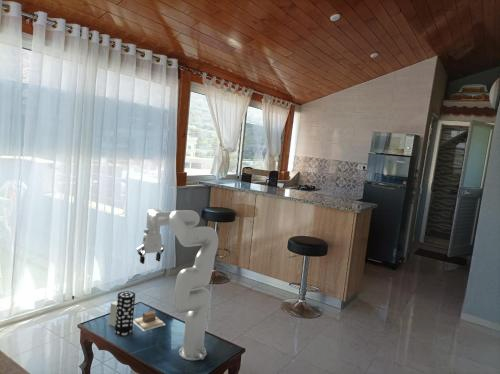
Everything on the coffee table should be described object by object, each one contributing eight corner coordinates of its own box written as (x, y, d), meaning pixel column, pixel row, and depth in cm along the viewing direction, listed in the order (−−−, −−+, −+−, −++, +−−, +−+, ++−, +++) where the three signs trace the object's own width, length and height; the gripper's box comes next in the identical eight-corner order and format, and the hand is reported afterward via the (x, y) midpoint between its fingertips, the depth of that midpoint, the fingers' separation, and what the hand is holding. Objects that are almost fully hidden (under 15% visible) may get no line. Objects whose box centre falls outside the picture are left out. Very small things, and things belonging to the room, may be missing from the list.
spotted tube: (122, 327, 185) (125, 290, 183) (135, 331, 182) (138, 293, 180) (110, 334, 177) (113, 295, 175) (124, 339, 174) (128, 299, 172)
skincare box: (118, 321, 191) (119, 299, 190) (124, 323, 189) (126, 301, 188) (108, 325, 185) (110, 302, 184) (114, 328, 183) (116, 305, 182)
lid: (163, 324, 191) (164, 314, 191) (144, 329, 183) (145, 319, 183) (152, 316, 199) (153, 306, 198) (134, 321, 191) (135, 311, 191)
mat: (165, 325, 191) (165, 324, 191) (143, 332, 182) (143, 331, 182) (153, 316, 200) (153, 315, 200) (131, 322, 191) (131, 321, 191)
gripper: (141, 234, 187) (139, 266, 188) (170, 231, 199) (167, 261, 201) (134, 231, 192) (132, 262, 193) (162, 229, 204) (160, 258, 206)
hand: (150, 262), depth 197 cm, fingers open, 9 cm apart
